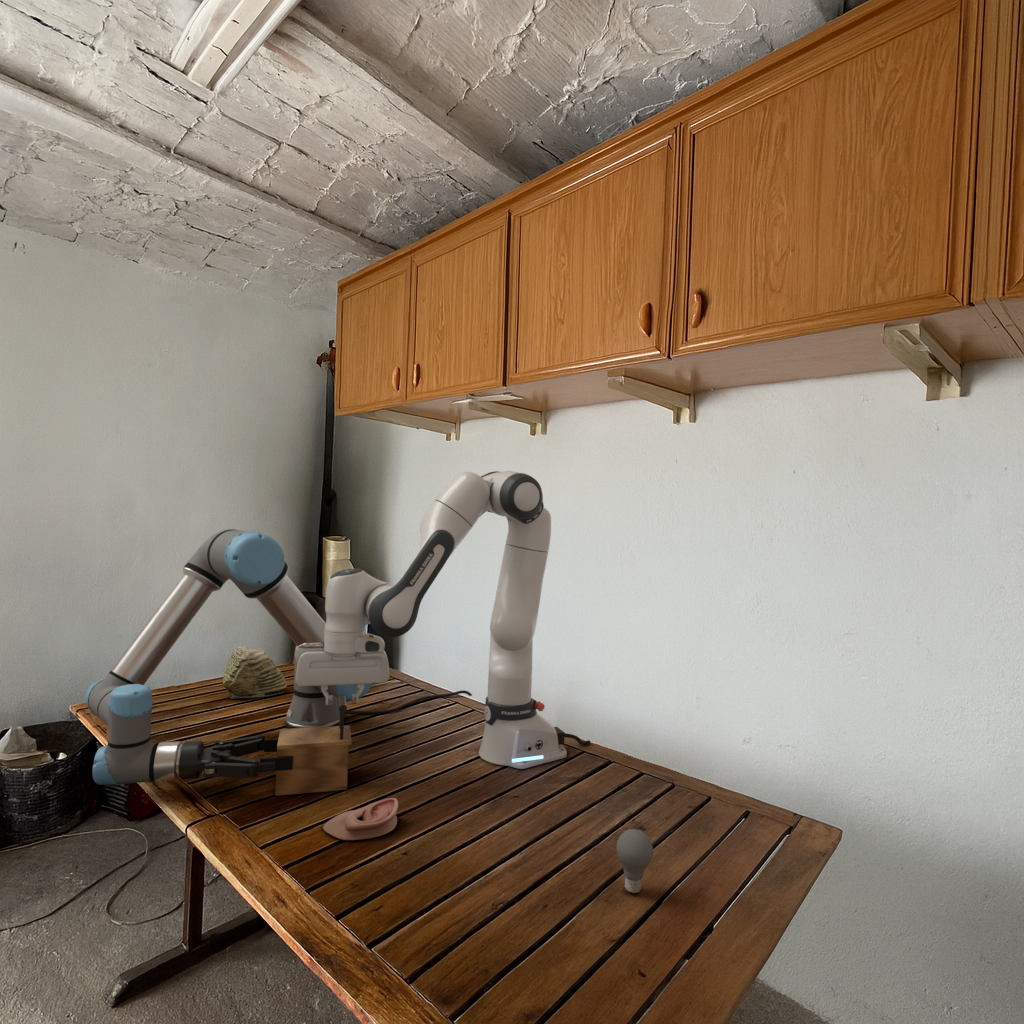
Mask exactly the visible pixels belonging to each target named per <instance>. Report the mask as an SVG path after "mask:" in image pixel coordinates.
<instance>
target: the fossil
mask: <svg viewBox="0 0 1024 1024" xmlns="http://www.w3.org/2000/svg"><path fill="white" fill-rule="evenodd" d="M222 676H223V677H222V685H223V687H224V688H225V690H226V691H228V693H229V698H230V699H250V698H264V697H271V696H275V695H281V694H284V693H285V691H286V689H287V687H288V686H287V680H286V678H285V676H284V674H283V673H282V672H281V669H279V668H278V667H277V665H276V663H275V662H274V660H273V659H272V658H271V657H270V656H269V655H268V654H267V653H266V652H265V650H264V649H263V648H260V647H258V648H251V647H247V646H246V647H245V646H238V647H237V648H236V649H235V650H233V651H232V653H231V656H230V657H229V659H228V660H227V663H226V666H225V668H224V671H223V675H222Z"/></svg>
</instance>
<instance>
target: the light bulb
mask: <svg viewBox="0 0 1024 1024" xmlns="http://www.w3.org/2000/svg"><path fill="white" fill-rule="evenodd" d="M615 849H616V854H617V857H618V859H619V861H620V863H621V865H622V867H623V873H624V874H623V875H624V876H625V878H624V888H625V890H627V891H628V892H630V893H634V894H635V893H639V892H640V891H641V889H642V887H641V886H642V879H643V877H644V875H645V871H646V868H647V867H648V866H649V864H650V863H651V861H652V859H653V855H654V847H653V843H652V841H651V838H649V836H648V835H647V834H646V833H645V832H643V831H642V830H641V829H636V828H629V829H627V830H625V831H623V832H622V833H621V834H620V835H619V837H618V839H617V841H616V847H615Z"/></svg>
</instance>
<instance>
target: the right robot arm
mask: <svg viewBox="0 0 1024 1024" xmlns="http://www.w3.org/2000/svg"><path fill="white" fill-rule="evenodd" d="M543 500H544V495H543V490H542V487H541V485H540V483H539V482H538V480H537V479H535V478H534V477H533V476H531V475H530V474H527V473H523V472H518V471H511V470H505V471H496V470H495V471H491V472H488V473H485V474H483V475H481V476H480V475H479V474H477V473H474V472H471V471H464V472H463V471H462V472H460V473H459V474H458V475H456V476H455V477H454V478H453V479H452V480H451V481H450V482H449V483H448V484H447V485H446V486H445V487H444V488H443V489H442V490H441V491H440V492H439V494H438V495H437V496H436V497H435V498H434V500H433V501H432V503H431V504H430V505H429V507H428V508H427V510H426V512H425V514H424V515H423V517H422V519H421V521H420V524H419V532H420V543H419V548H418V550H417V553H416V555H415V556H414V557H413V559H412V561H411V562H410V563H409V565H408V566H407V568H406V570H405V571H404V572H403V573H402V575H401V577H400V578H399V579H398V581H397V582H395V584H392V583H391V582H387V581H384V580H380V579H378V578H377V577H374V576H372V575H370V574H369V573H368V572H366V571H365V570H364V569H361V568H347V569H342V570H339V571H336V572H334V573H333V574H332V575H330V577H329V579H328V581H327V586H326V592H325V602H324V603H325V604H324V611H325V616H326V621H325V623H326V624H325V628H324V642H317V643H303V644H302V645H299V646H298V647H297V648H296V647H295V650H294V655H295V658H294V662H295V661H296V662H297V663H298V665H297V670H296V679H295V682H296V684H297V685H298V686H321V691H322V693H323V694H324V696H325V698H326V705H333V695H329V694H328V692H327V690H328V685H347V684H357V687H358V690H357V692H356V693H355V694H352V700H351V701H350V703H351V704H352V705H356V704H359V701H360V700H359V696H360V694H361V692H362V691H363V689H364V684H372V685H373V684H386V683H387V682H388V681H389V680H390V664H389V658H388V655H387V653H386V651H385V647H386V643H385V641H384V638H382V637H385V638H399V637H401V636H403V635H405V634H406V633H408V632H409V631H410V630H411V629H412V628H413V626H414V625H415V623H416V621H417V618H418V614H419V611H420V606H421V603H422V600H423V598H424V597H425V595H426V594H427V592H428V590H430V587H431V586H432V584H433V583H434V581H435V580H436V578H437V577H438V576H439V574H440V572H441V571H442V569H443V568H444V566H445V564H446V563H447V561H448V559H449V558H450V557H451V556H452V554H453V553H454V552H455V551H456V549H457V548H458V547H459V545H460V544H461V543H462V541H464V539H465V538H466V537H467V536H468V534H469V533H470V531H471V530H472V528H473V527H474V526H475V524H476V523H477V522H478V520H479V519H480V517H482V516H483V515H484V514H485V513H486V512H487V513H492V514H494V515H497V516H500V517H505V518H506V521H507V525H508V527H507V528H508V530H507V535H506V540H505V544H504V550H503V555H502V559H501V561H502V562H501V565H500V570H499V575H498V581H497V586H496V593H495V597H494V602H493V607H492V611H491V615H490V616H491V617H490V623H489V629H490V630H489V632H490V637H489V639H490V640H489V658H488V672H487V673H488V675H487V676H488V677H487V695H486V697H485V706H484V722H485V723H484V730H483V735H482V739H481V743H480V747H479V749H478V756H479V757H480V758H481V759H482V760H484V761H485V762H488V763H490V764H494V765H499V766H506V767H511V768H515V769H518V770H524V769H525V770H526V769H529V768H532V767H535V766H540V765H544V764H547V763H551V762H554V761H558V760H561V759H565V758H567V757H568V752H567V748H566V747H565V746H564V744H565V738H569V739H573V740H575V741H576V742H577V743H578V744H579V745H581V746H588V745H591V744H592V743H591V740H590V739H589V740H588V739H587V740H582V739H581V738H580V737H579V736H578V735H575V734H572V733H565V731H563V730H562V729H560V728H559V727H558V726H553V724H551V723H550V722H549V721H548V720H546V718H544V717H543V716H541V715H540V714H539V713H538V712H543V711H544V710H545V707H546V706H545V704H544V703H543V702H541V701H537V700H536V699H534V698H532V684H533V651H534V649H533V645H534V644H533V643H534V639H533V638H534V636H535V634H536V628H537V623H538V615H539V610H540V603H541V596H542V589H543V582H544V577H545V573H546V572H545V571H546V566H547V561H548V557H549V552H550V545H551V539H552V538H551V537H552V516H551V513H550V512H549V510H548V509H547V508H546V507H545V505H544V501H543ZM367 625H371V627H372V629H373V630H374V631H375V632H376V633H377V634H379V635H380V636H379V635H375V634H372V633H369V632H366V626H367ZM381 636H382V637H381ZM300 647H302V648H300ZM309 647H311V648H309ZM323 647H324V649H323ZM537 711H538V712H537Z"/></svg>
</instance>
